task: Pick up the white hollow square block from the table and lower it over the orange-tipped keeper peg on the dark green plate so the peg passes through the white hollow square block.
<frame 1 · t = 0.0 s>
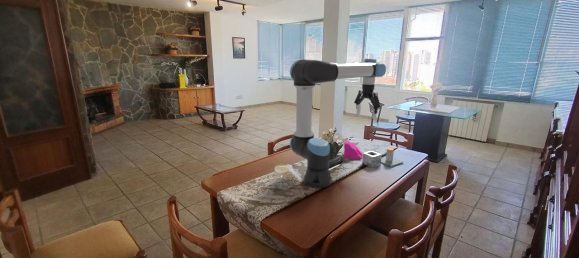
hand: (365, 116, 176), 28 cm above the table, fingers open, 13 cm apart
magenta faceted rock: (353, 156, 184), on the table
white hollow square block: (371, 163, 171), on the table
keeper: (389, 162, 174), on the table
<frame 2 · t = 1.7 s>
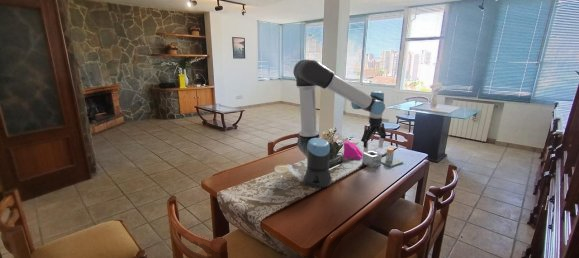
hand: (373, 149, 168), 9 cm above the table, fingers open, 13 cm apart
nothing on the table moved.
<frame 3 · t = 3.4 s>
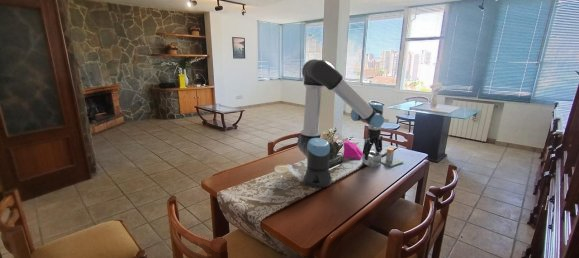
hand: (371, 162, 170), 1 cm above the table, fingers closed on white hollow square block, 8 cm apart
white hollow square block: (371, 163, 171), on the table, touching gripper
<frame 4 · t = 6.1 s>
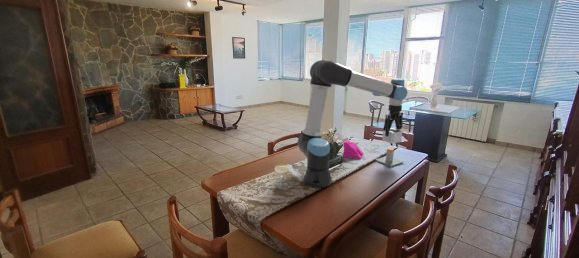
hand: (391, 139, 169), 15 cm above the table, fingers closed on white hollow square block, 8 cm apart
white hollow square block: (391, 140, 170), point 14 cm above the table, touching gripper
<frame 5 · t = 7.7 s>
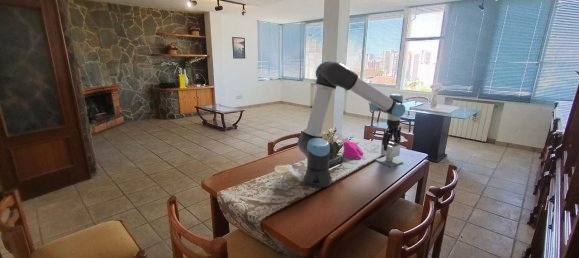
hand: (390, 153, 172), 6 cm above the table, fingers closed on white hollow square block, 8 cm apart
white hollow square block: (390, 154, 172), point 5 cm above the table, touching gripper
when the fingers open (3 cm above the table, at t = 9.1 s): white hollow square block drops 1 cm, resting on keeper.
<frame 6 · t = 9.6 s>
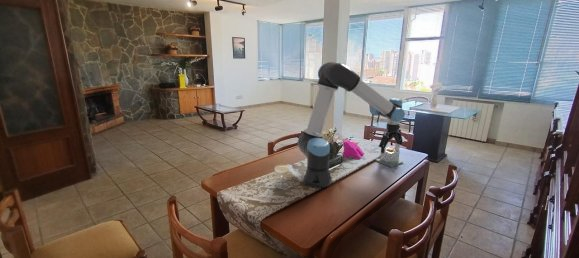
hand: (389, 155, 172), 5 cm above the table, fingers open, 13 cm apart
white hollow square block: (389, 160, 173), point 1 cm above the table, touching keeper
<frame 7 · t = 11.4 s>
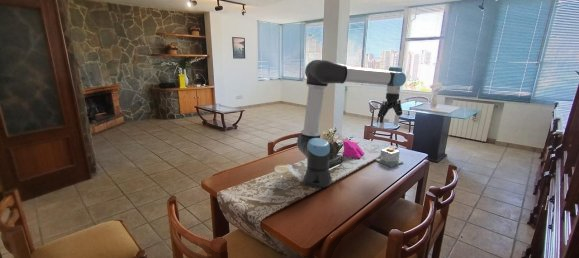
hand: (388, 126, 168), 24 cm above the table, fingers open, 13 cm apart
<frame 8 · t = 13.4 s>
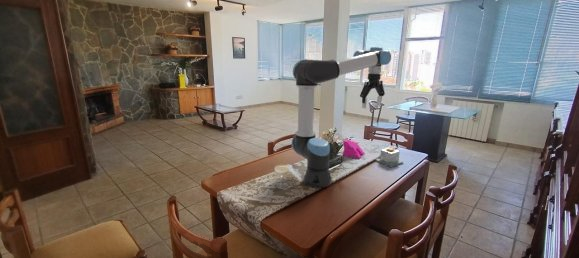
hand: (371, 107, 171), 35 cm above the table, fingers open, 13 cm apart
at the end: white hollow square block 0.0 cm from the keeper (horizontally); white hollow square block point 1.0 cm above the table; the gripper is holding nothing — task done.
